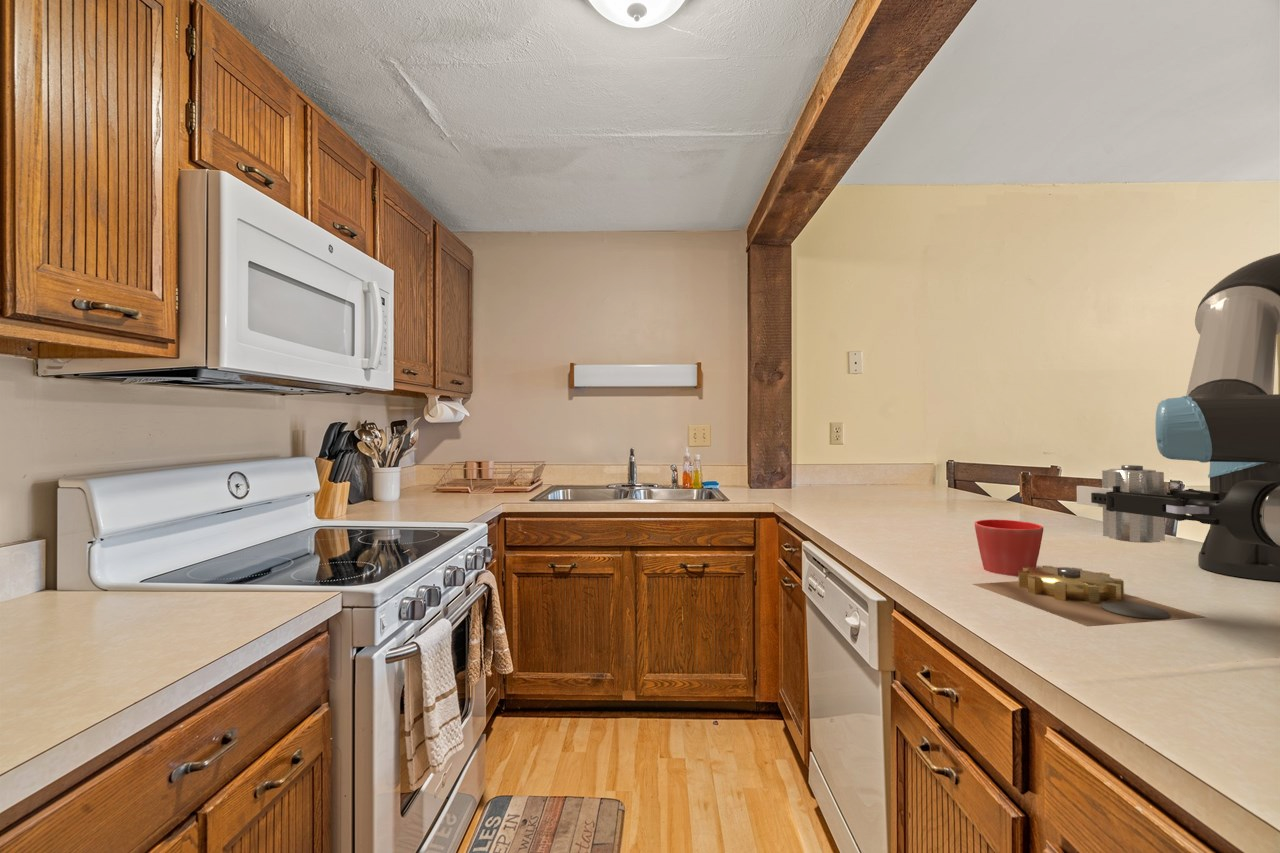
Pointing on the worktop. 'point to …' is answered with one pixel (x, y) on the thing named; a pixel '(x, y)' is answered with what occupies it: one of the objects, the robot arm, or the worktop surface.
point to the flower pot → (1008, 545)
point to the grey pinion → (1129, 523)
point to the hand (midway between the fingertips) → (1100, 494)
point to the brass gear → (1071, 584)
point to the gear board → (1092, 607)
